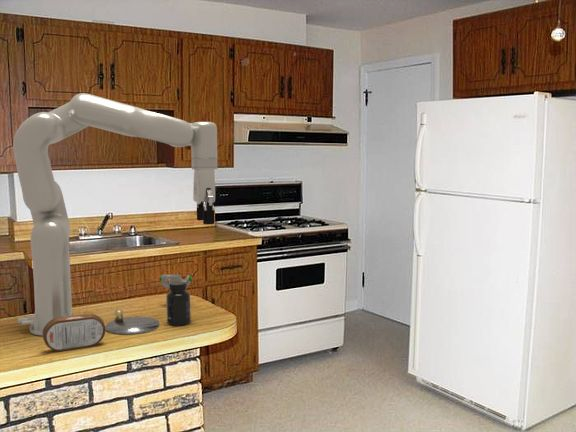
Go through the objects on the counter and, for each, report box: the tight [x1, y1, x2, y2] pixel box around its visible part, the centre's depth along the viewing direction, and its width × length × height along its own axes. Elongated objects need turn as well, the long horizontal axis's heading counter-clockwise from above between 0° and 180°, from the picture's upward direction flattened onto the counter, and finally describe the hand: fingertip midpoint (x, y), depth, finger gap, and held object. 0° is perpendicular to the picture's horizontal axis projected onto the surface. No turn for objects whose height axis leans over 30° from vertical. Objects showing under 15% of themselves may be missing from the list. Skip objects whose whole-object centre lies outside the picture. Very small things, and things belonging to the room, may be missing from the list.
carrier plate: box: [104, 308, 160, 336], centre depth 166 cm, size 15×15×4 cm
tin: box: [42, 313, 106, 352], centre depth 147 cm, size 15×3×8 cm, turn 118°
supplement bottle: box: [165, 281, 192, 327], centre depth 168 cm, size 7×7×12 cm
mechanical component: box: [158, 273, 193, 289], centre depth 187 cm, size 3×10×10 cm, turn 89°
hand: (205, 222), depth 172 cm, fingers open, 9 cm apart
